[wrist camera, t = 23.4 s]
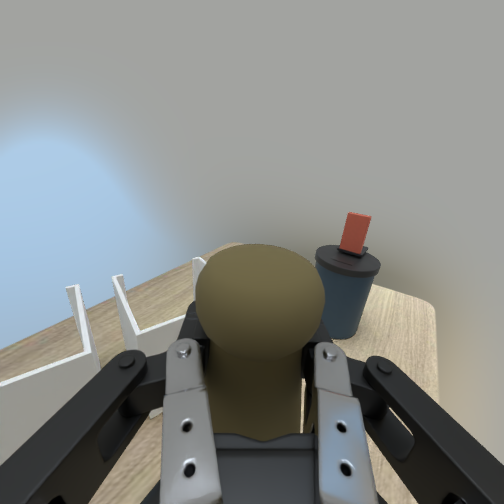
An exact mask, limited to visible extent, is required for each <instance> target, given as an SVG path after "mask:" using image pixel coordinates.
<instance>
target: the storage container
mask: <svg viewBox="0 0 504 504" xmlns="http://www.w3.org/2000/svg"><path fill="white" fill-rule="evenodd" d="M206 263H207V262H205V261H204V260H203V259H202V258H201V257H196V258H192V266H193V296H194V300H195V288H196V283H197V279H198V275H199V274H200V272H201V271H202V269H203V268H204V266H205V265H206ZM112 282H113V287H114V292H115V297H116V302H117V307H118V313H119V318H120V323H121V328H122V333H123V338H124V343H125V348H126V351H127V350H140V351H142V352H143V353H144V354H145V355H146V357H148V356H153V355H157V354H161V353H163V352H165V351H167V350H168V348H169V346H170V345H171V344H172V343H174V342H175V341H177V338H178V335H179V332H180V330H181V327H182V324H183V321H184V319H185V315H186V314H185V315H182V316H179V317H177V318H174V319H171V320H169V321H166V322H163V323H160V324H158V325H155V326H152V327H150V328H147V329H144V330H141V331H140V330H139V327H138V325H137V323H136V321H135V319H134V316H133V314H132V312H131V310H130V307H129V305H128V301H127V296H126V290H125V284H124V279H123V275H122V274H121V275H116V276H112ZM66 291H67V294H68V297H69V301H70V304H71V308H72V311H73V315H74V318H75V321H76V325H77V328H78V331H79V335H80V338H81V342H82V345H83V348H84V352H82V353H79V354H76V355H73V356H71V357H68V358H65V359H63V360H60V361H57V362H54V363H52V364H49V365H46V366H44V367H41V368H38V369H35V370H33V371H30V372H27V373H25V374H22V375H19V376H16V377H14V378H11V379H8V380H6V381H3V382H0V466H1V465H2V464H3V463H4V462H5V461H6V460H7V459H8V458H9V457H10V456H11V455H12V454H13V453H14V452H15V451H16V450H17V449H18V448H19V447H20V446H22V445H23V444H24V443H25V442H26V441H27V440H28V439H29V438H30V437H31V436H32V435H33V434H34V433H35V432H36V431H37V430H38V429H39V428H40V427H41V426H43V425H44V424H45V423H46V422H47V421H48V420H49V419H50V418H51V417H52V416H53V415H54V414H55V413H56V412H57V411H58V410H59V409H60V408H61V407H62V406H64V405H65V404H66V403H67V402H68V401H69V400H70V399H71V398H72V397H73V396H74V395H75V394H76V393H77V392H78V391H79V390H80V389H81V388H82V387H83V386H85V385H86V384H87V383H88V382H89V381H90V380H91V379H92V378H93V377H94V376H95V375H96V374H97V373H98V372H99V371H100V370H101V367H100V362H99V358H98V354H97V350H96V346H95V343H94V339H93V335H92V331H91V328H90V324H89V320H88V316H87V313H86V309H85V305H84V301H83V298H82V294H81V291H80V286H79V284H76V285H72V286H68V287H66ZM162 412H163V407H161V408H158V409H155V410H151V412H150V414H149V417H150V419H152V418H154V417H155V416H157V415H159V414H160V413H162Z"/></svg>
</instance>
